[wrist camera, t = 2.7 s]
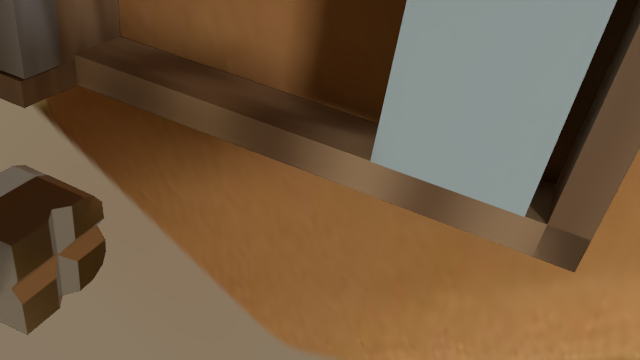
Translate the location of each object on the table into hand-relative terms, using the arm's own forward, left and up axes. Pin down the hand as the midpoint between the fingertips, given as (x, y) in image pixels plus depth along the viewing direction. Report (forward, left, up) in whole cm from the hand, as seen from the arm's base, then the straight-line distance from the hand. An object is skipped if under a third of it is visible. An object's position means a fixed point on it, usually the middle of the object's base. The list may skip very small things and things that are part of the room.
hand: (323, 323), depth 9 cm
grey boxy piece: (0, 0, -16) cm, 16 cm away
